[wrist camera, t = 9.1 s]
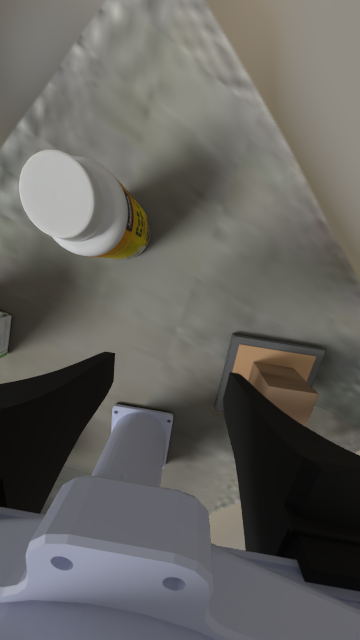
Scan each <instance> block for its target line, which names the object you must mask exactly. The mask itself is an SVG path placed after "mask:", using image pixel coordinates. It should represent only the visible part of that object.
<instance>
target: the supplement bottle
mask: <svg viewBox="0 0 360 640" xmlns="http://www.w3.org/2000/svg"><path fill="white" fill-rule="evenodd" d="M19 191H20V197H21V201H22V205H23V207H24V210H25V211H26V213H27V215H28V217H29V218H30V220H31V221H32V222H33V223H34V224H35V225H36V226H37V227H38V228H39V229H40V230H42V231H43V232H45V233H46V234H48V235H50V236H52V237H53V239H54V240H55V241H56V242H57V243H58V244H60V245H61V246H62V247H63V248H65V249H67V250H68V251H70V252H73V253H75V254H78V255H83V256H91V257H104V258H115V259H130V258H134V257H136V256H138V255H139V254H140V253H141V252H143V250H144V249H145V248H146V246H147V244H148V242H149V239H150V223H149V220H148V217H147V215H146V213H145V212H144V210H143V209H142V207H141V206H140V205H139V204H138V203H137V202H136V201H135V199H134V198H133V197H132V196H131V195H130V194H129V192H128V191H127V190H126V189H125V188H124V187H123V186H122V184H121V183H120V182H119V181H118V180H117V179H116V178H115V176H114V175H113V174H112V173H111V172H110V171H109V170H108V169H107V168H105V167H104V166H103V165H101V164H100V163H98V162H97V161H95V160H92V159H90V158H86V157H82V156H71V155H69V154H67V153H65V152H62V151H59V150H43V151H40V152H38V153H36V154H34V155H33V156H32V157H30V158H29V160H28V161H27V162H26V164H25V165H24V167H23V169H22V172H21V175H20V182H19Z"/></svg>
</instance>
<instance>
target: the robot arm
mask: <svg viewBox="0 0 360 640" xmlns="http://www.w3.org/2000/svg"><path fill="white" fill-rule="evenodd" d="M114 361H115V353H110V352H103V353H100V354H98V355H95V356H93V357H90V358H88V359H86V360H83V361H81V362H79V363H76V364H73V365H71V366H68V367H65V368H63V369H60V370H57V371H54V372H51V373H47V374H44V375H40V376H37V377H32V378H28V379H24V380H19V381H15V382H9V383H4V384H0V640H360V456H359V455H357V454H355V453H353V452H351V451H348V450H346V449H344V448H342V447H340V446H338V445H336V444H335V443H333V442H331V441H329V440H327V439H325V438H323V437H322V436H320V435H318V434H317V433H315V432H313V431H311V430H310V429H308V428H307V427H305V426H303V425H302V424H300V423H299V422H297V421H296V420H294V419H293V418H291V417H290V416H289V415H287V414H286V413H284V412H283V411H282V410H280V409H279V408H278V407H277V406H275V405H274V404H273V403H272V402H271V401H269V400H268V399H267V398H266V397H265V396H264V395H262V394H261V393H260V392H259V391H258V390H257V389H256V388H255V387H254V386H253V385H252V384H251V383H250V382H248V381H247V380H246V379H245V378H244V377H243V376H242V375H241V374H239V373H232V372H230V373H229V377H228V381H227V385H226V389H225V393H224V397H223V408H224V416H225V420H226V424H227V429H228V433H229V437H230V441H231V445H232V449H233V453H234V458H235V463H236V470H237V477H238V484H239V492H240V500H241V508H242V517H243V526H244V536H245V547H246V551H243V550H238V549H233V548H227V547H221V546H216V545H214V544H212V543H211V539H210V524H209V514H208V510H207V509H206V508H205V507H204V506H203V505H202V504H201V502H200V501H199V500H198V499H197V498H196V497H195V496H193V495H190V494H188V493H185V492H182V491H180V490H176V489H170V488H164V487H160V482H161V475H162V469H163V468H165V464H166V458H167V452H168V446H169V441H170V435H171V429H172V423H173V414H172V413H167V412H161V411H155V410H149V409H143V408H137V407H131V406H126V405H120V404H115V405H114V406H113V409H112V427H111V435H110V437H109V439H108V442H107V444H106V446H105V448H104V450H103V452H102V454H101V456H100V458H99V460H98V462H97V465H96V467H95V469H94V471H93V473H92V475H91V476H79V477H76V478H74V479H72V480H71V481H69V482H67V483H65V484H64V485H63V486H62V487H61V489H60V491H59V492H58V494H57V496H56V498H55V499H54V501H53V503H52V504H51V506H50V508H49V510H48V511H47V513H46V515H43V514H40V513H41V510H42V508H43V506H44V504H45V502H46V500H47V498H48V496H49V494H50V492H51V490H52V488H53V486H54V484H55V482H56V480H57V478H58V476H59V474H60V472H61V470H62V468H63V466H64V464H65V462H66V460H67V458H68V456H69V454H70V453H71V451H72V449H73V447H74V445H75V443H76V442H77V440H78V438H79V436H80V434H81V433H82V431H83V430H84V428H85V426H86V425H87V424H88V422H89V421H90V419H91V418H92V416H93V415H94V413H95V412H96V410H97V409H98V407H99V406H100V404H101V403H102V402H103V400H104V399H105V397H106V395H107V393H108V392H109V390H110V388H111V385H112V383H113V379H114ZM116 411H118V412H116Z"/></svg>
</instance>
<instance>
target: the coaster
mask: <svg viewBox="0 0 360 640" xmlns="http://www.w3.org/2000/svg"><path fill="white" fill-rule="evenodd" d="M324 354H325V350H323V349H322V348H319V347H313V346H306V345H300V344H294V343H288V342H282V341H275V340H269V339H263V338H257V337H250V336H244V335H238V334H232V338H231V342H230V346H229V350H228V354H227V358H226V362H225V366H224V371H223V375H222V379H221V383H220V387H219V391H218V395H217V399H216V404H215V410H216V411H221V412H224V408H223V397H224V393H225V389H226V385H227V381H228V377H229V373H230V372H232V373H239V374H241V375H242V376H243V377H244V378H245V379H246V380H247V381H248V379H249V375H250V372H251V368H252V365H253V362H258V363H264V364H271V365H277V366H284V367H290V368H294V369H295V370H296V371H297V372H298V373H299V374H300V375H301V376H302V377H303V378H304V379H305V380H306V381H307V382H308V383H309V385H310V386H312V383H313V381H314V379H315V376H316V374H317V371H318V369H319V366H320V364H321V361H322V359H323V356H324Z"/></svg>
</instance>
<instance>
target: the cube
mask: <svg viewBox="0 0 360 640" xmlns="http://www.w3.org/2000/svg"><path fill="white" fill-rule="evenodd" d="M248 382H250V383H251V384H252V385H253V386H254V387H255V388H256V389H257V390H258V391H259V392H260V393H261V394H262V395H264V396H265V397H266V398H267V399H268V400H269V401H271V402H272V403H273V404H274V405H275V406H277V407H278V408H279V409H280V410H282V411H283V412H284V413H286V414H287V415H289V416H290V417H291V418H293V419H294V420H296V421H297V422H299V423H300V424H302V425H303V426H305V427H306V424H307V422H308V419H309V417H310V414H311V412H312V410H313V407H314V405H315V402H316V400H317V397H318V395H319V394H318V393H317V392H316V391H315V390H314V389H313V388H312V387H311V386H310V385H309V383H308V382H307V381H306V380H305V379H304V378H303V377H302V376H301V375H300V374H299V373H298V372H297V371H296V370H295V369H294V368H290V367H284V366H277V365H271V364H264V363H258V362H253V365H252V368H251V372H250V375H249V379H248Z"/></svg>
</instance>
